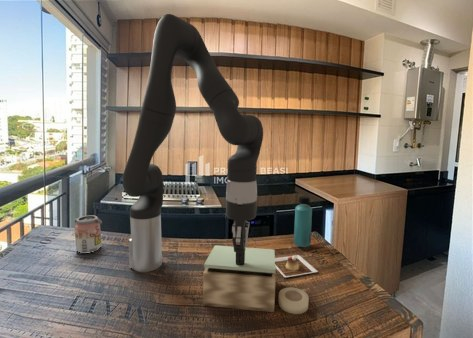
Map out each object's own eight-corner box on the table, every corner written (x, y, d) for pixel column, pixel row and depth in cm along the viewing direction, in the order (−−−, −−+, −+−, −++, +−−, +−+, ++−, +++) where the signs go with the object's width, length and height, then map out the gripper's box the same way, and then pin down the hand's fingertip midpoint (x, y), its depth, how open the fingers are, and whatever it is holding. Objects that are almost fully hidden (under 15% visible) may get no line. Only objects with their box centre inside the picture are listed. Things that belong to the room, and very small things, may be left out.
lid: (203, 267, 68) (203, 264, 68) (214, 247, 82) (214, 245, 82) (275, 273, 66) (275, 270, 66) (274, 252, 80) (274, 249, 80)
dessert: (268, 262, 94) (268, 249, 93) (298, 257, 97) (299, 245, 97) (284, 280, 82) (285, 266, 82) (318, 275, 86) (319, 260, 85)
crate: (203, 305, 70) (203, 272, 68) (214, 275, 83) (214, 248, 82) (274, 312, 68) (275, 278, 66) (273, 280, 81) (274, 252, 80)
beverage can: (83, 243, 104) (81, 213, 102) (106, 243, 105) (104, 213, 103) (71, 255, 95) (68, 222, 93) (96, 254, 96) (94, 221, 94)
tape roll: (278, 312, 68) (279, 303, 67) (278, 294, 75) (278, 285, 75) (310, 315, 67) (310, 306, 66) (306, 296, 74) (306, 288, 74)
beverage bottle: (311, 252, 101) (314, 199, 98) (292, 250, 102) (295, 198, 99) (309, 244, 107) (313, 195, 104) (292, 242, 108) (295, 194, 105)
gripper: (230, 190, 73) (229, 250, 76) (221, 204, 60) (221, 276, 63) (258, 191, 72) (256, 252, 75) (255, 206, 59) (253, 279, 62)
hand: (240, 263), depth 69 cm, fingers closed
